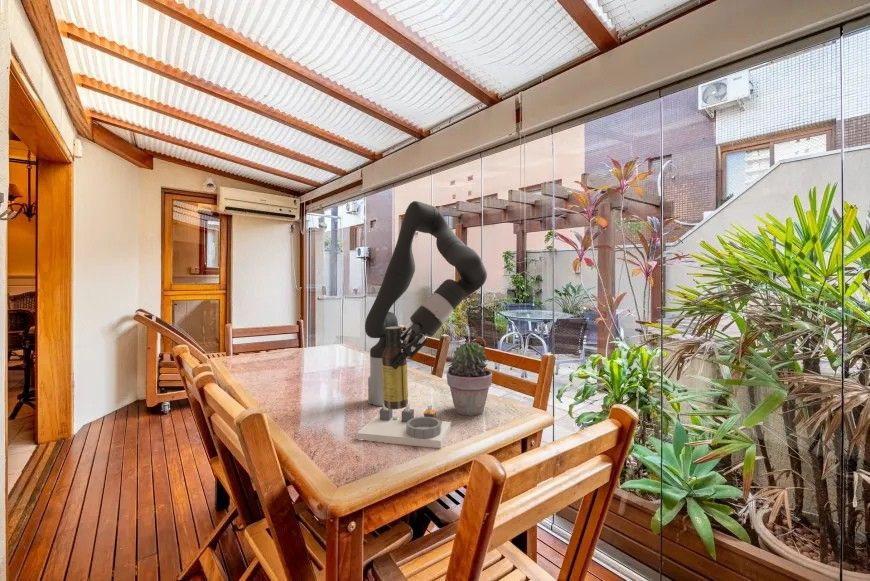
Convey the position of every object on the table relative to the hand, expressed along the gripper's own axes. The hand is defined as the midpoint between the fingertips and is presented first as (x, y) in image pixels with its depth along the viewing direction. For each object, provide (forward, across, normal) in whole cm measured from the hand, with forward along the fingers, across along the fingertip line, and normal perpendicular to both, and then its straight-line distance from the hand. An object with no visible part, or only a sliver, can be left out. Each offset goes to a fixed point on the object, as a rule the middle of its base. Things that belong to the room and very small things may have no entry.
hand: (388, 363), depth 94 cm
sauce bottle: (+7, 0, +9) cm, 11 cm away
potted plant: (-7, -23, +42) cm, 48 cm away
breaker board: (+11, -13, +23) cm, 29 cm away
